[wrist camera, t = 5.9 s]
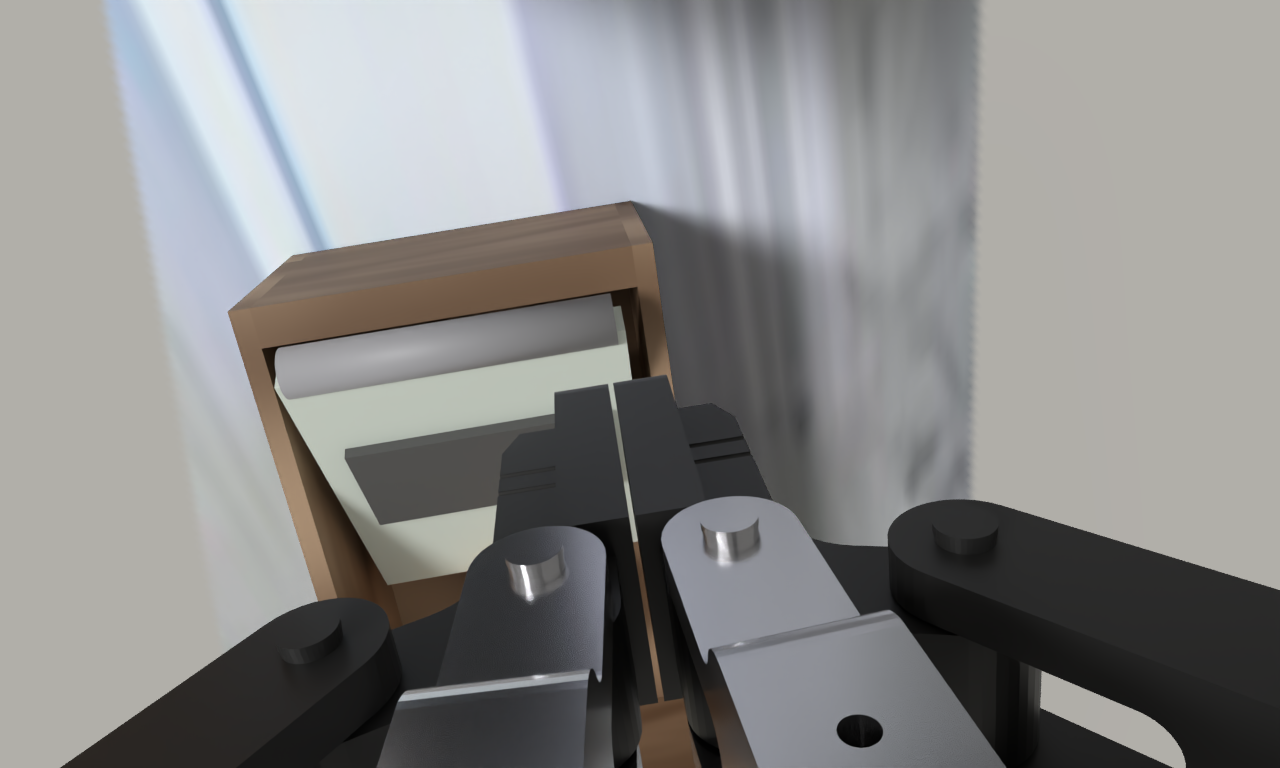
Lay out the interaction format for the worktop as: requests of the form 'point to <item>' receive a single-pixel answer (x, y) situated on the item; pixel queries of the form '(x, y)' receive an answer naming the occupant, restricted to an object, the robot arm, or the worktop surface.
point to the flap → (443, 419)
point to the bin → (431, 292)
